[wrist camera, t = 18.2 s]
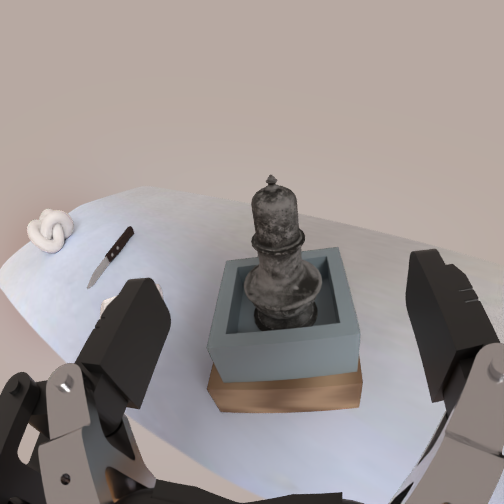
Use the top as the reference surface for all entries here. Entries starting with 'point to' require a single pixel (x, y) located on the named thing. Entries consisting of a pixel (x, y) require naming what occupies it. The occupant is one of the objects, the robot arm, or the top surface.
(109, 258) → the kitchen knife
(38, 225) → the white knot sculpture
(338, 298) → the blue-grey square tray
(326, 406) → the tower base
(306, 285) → the salt shaker
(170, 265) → the top surface
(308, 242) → the top surface
